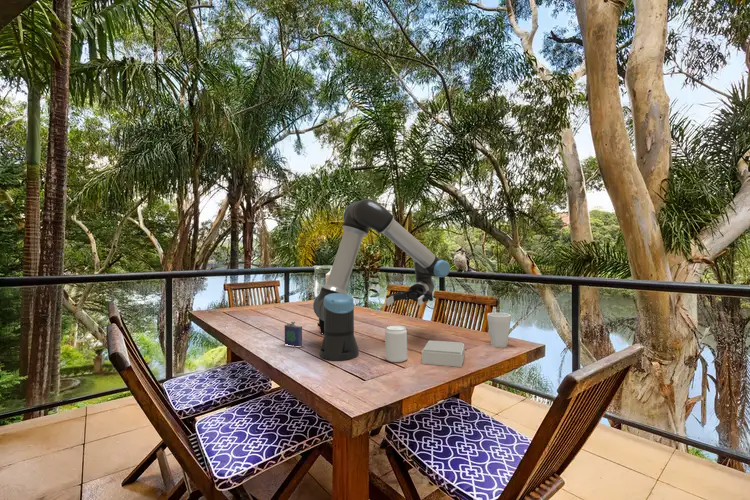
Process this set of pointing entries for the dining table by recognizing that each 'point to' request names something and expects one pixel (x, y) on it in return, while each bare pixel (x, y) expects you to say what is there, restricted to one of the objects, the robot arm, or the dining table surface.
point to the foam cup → (499, 328)
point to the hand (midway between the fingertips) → (402, 302)
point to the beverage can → (396, 344)
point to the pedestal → (443, 353)
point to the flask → (293, 334)
